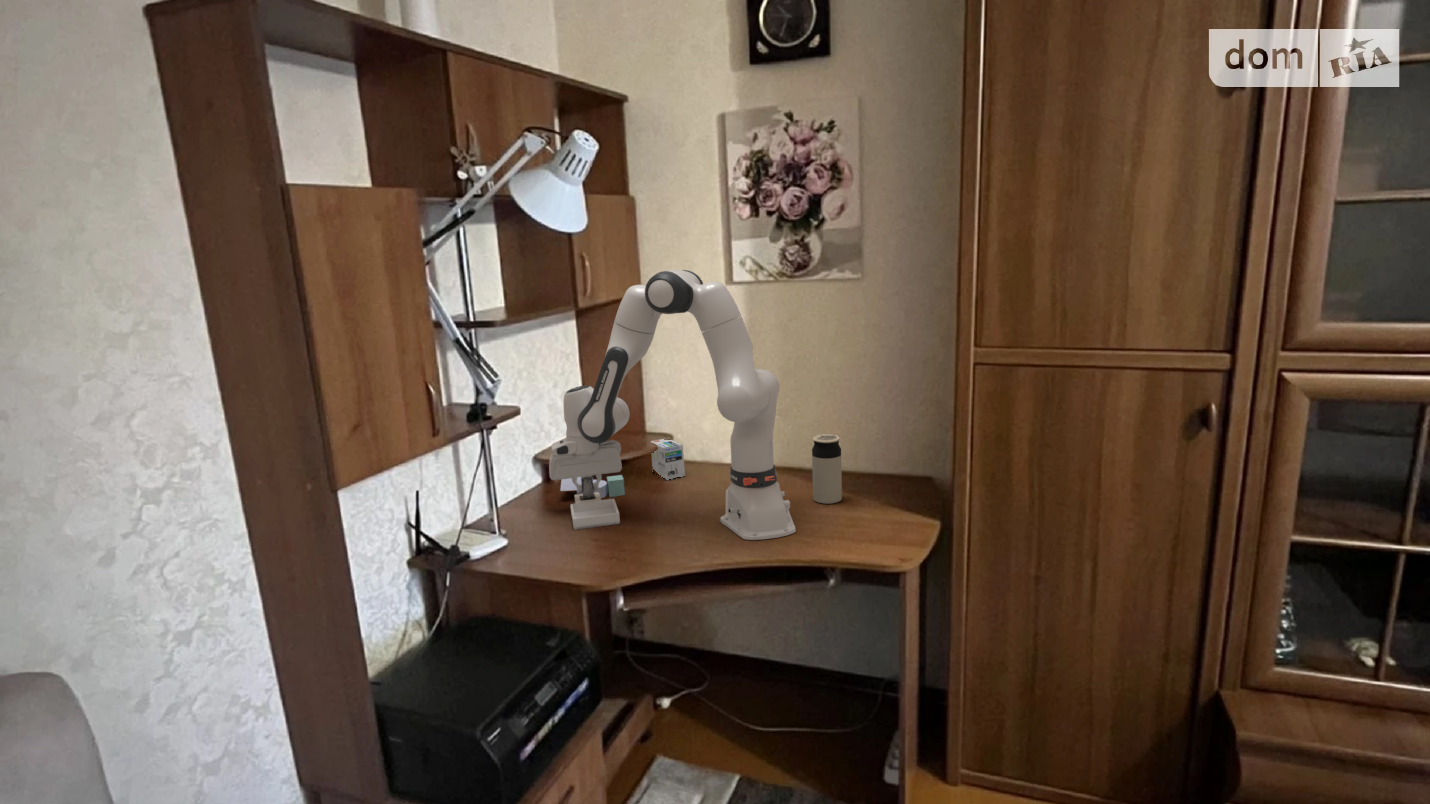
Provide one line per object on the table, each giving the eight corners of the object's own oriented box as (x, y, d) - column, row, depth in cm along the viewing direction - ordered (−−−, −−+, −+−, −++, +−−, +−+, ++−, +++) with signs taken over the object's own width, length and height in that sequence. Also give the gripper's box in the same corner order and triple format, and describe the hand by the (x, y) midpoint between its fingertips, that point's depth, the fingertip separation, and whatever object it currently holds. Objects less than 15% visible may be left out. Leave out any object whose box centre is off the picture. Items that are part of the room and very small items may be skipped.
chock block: (624, 495, 230) (623, 479, 229) (609, 497, 229) (608, 481, 228) (623, 490, 234) (621, 474, 233) (608, 492, 233) (606, 476, 232)
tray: (620, 523, 207) (619, 513, 206) (573, 529, 204) (572, 519, 204) (614, 508, 219) (614, 498, 218) (571, 514, 216) (570, 504, 215)
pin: (595, 505, 219) (592, 478, 218) (584, 506, 219) (581, 479, 217) (594, 501, 222) (591, 475, 221) (583, 503, 222) (580, 476, 220)
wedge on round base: (561, 502, 227) (605, 499, 227) (559, 480, 225) (603, 477, 226) (566, 491, 236) (609, 489, 236) (564, 470, 234) (607, 468, 234)
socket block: (602, 509, 218) (601, 499, 218) (576, 513, 217) (575, 503, 216) (599, 501, 225) (598, 492, 224) (575, 505, 223) (574, 495, 223)
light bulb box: (685, 477, 244) (683, 443, 241) (666, 481, 241) (664, 447, 238) (670, 469, 253) (668, 437, 251) (651, 473, 250) (649, 440, 247)
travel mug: (847, 501, 215) (846, 438, 211) (822, 506, 212) (820, 443, 208) (832, 493, 222) (831, 432, 218) (808, 497, 219) (806, 436, 215)
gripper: (618, 436, 222) (623, 482, 225) (546, 445, 217) (551, 491, 220) (621, 441, 216) (625, 488, 219) (546, 450, 211) (552, 498, 214)
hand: (587, 490), depth 220 cm, fingers closed on pin, 3 cm apart
